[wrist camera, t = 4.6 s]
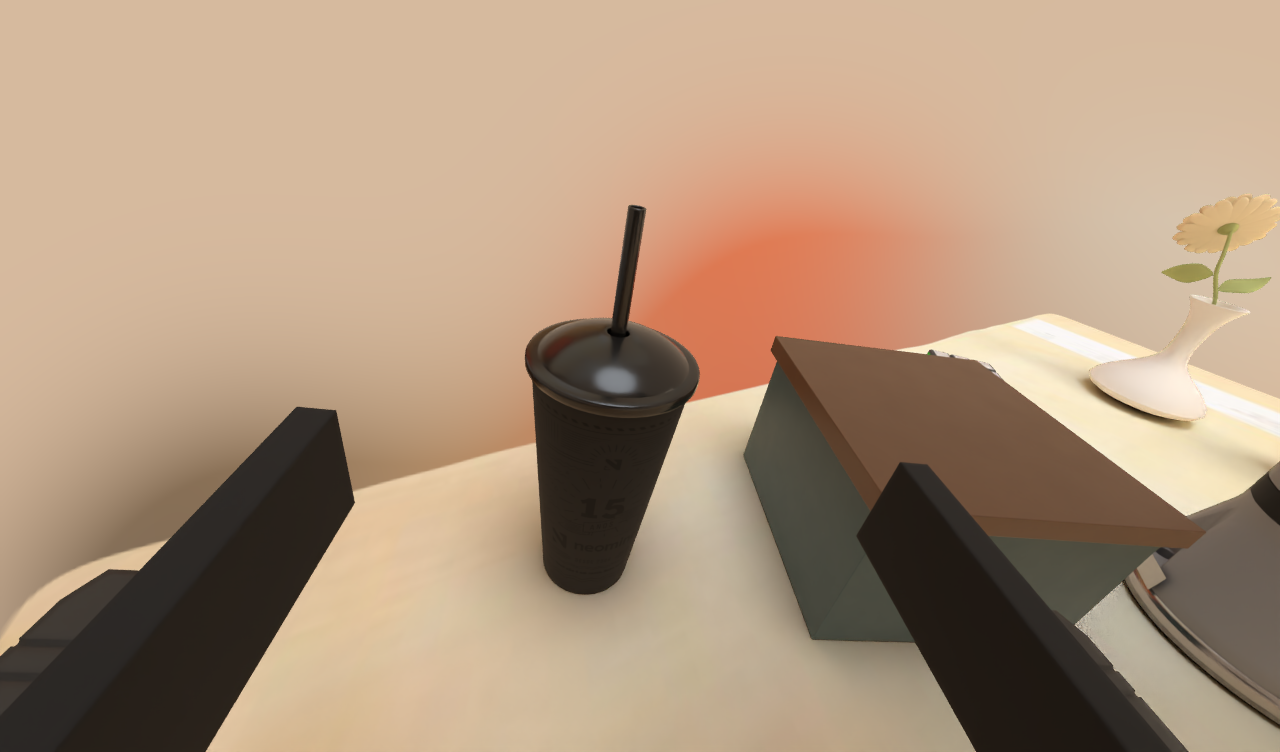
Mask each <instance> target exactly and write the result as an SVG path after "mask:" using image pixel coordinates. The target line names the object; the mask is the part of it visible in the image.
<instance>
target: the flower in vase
mask: <svg viewBox="0 0 1280 752" xmlns="http://www.w3.org/2000/svg"><path fill="white" fill-rule="evenodd" d="M1270 197H1271V196H1270V195H1269V194H1264V195H1261V196H1258V197H1254V198H1253V199H1252V194H1250V193H1246V194H1243V195H1241V196H1239V197H1238V198H1236V197H1228V198H1226V199H1225V200H1221V201H1219V202H1217V203H1216V204H1215V206H1212V205H1206V206H1204V207H1202V208H1201V209H1200V213H1194V214H1191V215H1190V216H1188V217H1186V218H1185V219H1184V220H1183V223H1181V224H1179V225H1178V226H1177V229H1178V230H1180V231H1182V232H1179V233H1177V234H1176V235H1175V236H1173V240H1176V241H1177V244H1179V245H1186V244H1188V245H1187V246H1186V247H1185V248H1184V249H1185V250H1187V251H1189V252H1194V251H1195V253H1203V252H1205V251H1207V250H1208V253H1215V252H1218V251H1222V254H1221V257H1220V259H1219V261H1218V263H1217V265H1216V268H1215V271H1214V278H1213V289H1214V290H1213V291H1214V292H1213V299H1212V298H1208V297H1204V296H1199V295H1190V296H1189V298H1190V311H1189V315H1188V317H1187V319H1186V321H1185V323H1184V325H1183V326H1182V328H1181V329H1180V331H1179V332H1178V334H1177V335H1176V336H1175V337H1174V339H1173V340H1172V341H1171V342H1170V343H1169V344H1168V346H1167V347H1165V348H1164V349H1163V350H1162V351H1160V352H1158V353H1156V354H1154V355H1151V356H1148V357H1142V358H1136V359H1128V360H1120V361H1113V362H1108V363H1104V364H1100V365H1097V366H1095V367H1094V368H1092V369H1090V370H1089V375H1090V379H1091V381H1092V382H1093V383H1094V384H1095V385H1097V386H1098V387H1099V388H1100V389H1101V390H1102V391H1104V392H1105V393H1107V394H1108V395H1110V396H1112V397H1113V398H1115V399H1117V400H1119V401H1121V402H1123V403H1125V404H1127V405H1130V406H1132V407H1134V408H1137V409H1139V410H1142V411H1144V412H1147V413H1150V414H1153V415H1157V416H1160V417H1164V418H1169V419H1175V420H1182V421H1194V420H1198V419H1202V418H1204V417H1205V414H1206V411H1207V408H1206V405H1205V402H1204V399H1203V397H1202V395H1201V393H1200V391H1199V390H1198V388H1197V386H1196V385H1195V383H1194V381H1193V380H1192V378H1191V376H1190V374H1189V371H1188V367H1187V366H1188V361H1189V358H1190V357H1191V355H1192V354H1193V353H1194V351H1195V350H1196V349H1197V348H1198V347H1199V346H1200V344H1202V342H1203V341H1204V340H1205V339H1207V338H1208V337H1209V336H1210V335H1211V334H1212V333H1213V332H1214V331H1216V330H1217V329H1218V328H1220V327H1221V326H1222V325H1224V324H1226V323H1228V322H1229V321H1231V320H1233V319H1235V318H1238V317H1241V316H1244V315H1247V314H1249V313H1250V311H1248V310H1246V309H1244V308H1241V307H1238V306H1235V305H1233V304H1229V303H1226V302H1223V301H1220V300H1217V299H1218V291H1222V292H1232V293H1250V292H1254V291H1256V290H1258V289H1260V288H1262V287H1263V286H1264V285H1265V284H1267V283H1268V281H1269V280H1270V279H1271V277H1268V278H1260V279H1233V280H1227V281H1225V282H1224V283H1223V284H1222V285H1221V286H1220V287H1219V288H1218V273H1219V269H1220V266H1221V264H1222V262H1223V260H1224V257H1225V255H1226V252H1227V251H1233V250H1236V249H1237V248H1238V247H1239V245H1240V246H1244V245H1248V244H1250V243H1251V242H1253V240H1260V239H1262V238H1264V237H1265V236H1266V233H1267V232H1269V231H1270V230H1271V229H1273V228H1275V227H1276V226H1277V224H1276V223H1274V222H1277V221H1279V220H1280V207H1274V208H1271V207H1272V206H1273V205H1275V204H1276V203H1277V199H1270ZM1162 273H1163V274H1165V275H1167V276H1169V277H1171V278H1173V279H1175V280H1177V281H1180V282H1186V283H1189V282H1195V281H1199V280H1202V279H1206V278H1208V277H1210V276H1212V275H1213V272H1212V271H1211V270H1210V269H1209V268H1207V267H1206V266H1204V265H1202V264H1184V265H1179V266H1175V267H1172V268H1169V269H1167V270H1164V271H1162ZM1218 289H1219V290H1218Z"/></svg>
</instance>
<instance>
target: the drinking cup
mask: <svg viewBox="0 0 1280 752" xmlns="http://www.w3.org/2000/svg"><path fill="white" fill-rule="evenodd" d="M645 214H646V208H644V207H642V206H637V205H629V206H628V212H627V219H626V226H625V233H624V240H623V247H622V254H621V262H620V268H619V276H618V282H617V289H616V296H615V303H614V311H613V317H612V318H591V319H577V320H570V321H565V322H561V323H557V324H554V325H551V326H549V327H547V328H545V329H543V330H541V331H540V332H538V333H537V334H536V335H535V336H534V337H533V338H532V339H531V340H530V342H529V344H528V345H527V348H526V352H525V366H526V370H527V372H528V374H529V376H530V378H531V379H532V382H533V399H534V416H535V431H536V448H537V464H538V480H539V496H540V513H541V529H542V545H543V560H544V566H545V569H546V571H547V573H548V575H549V577H550V578H551V579H552V580H553V581H554V582H555V583H556V584H557V585H558V586H560V587H561V588H563V589H565V590H567V591H570V592H573V593H578V594H593V593H597V592H601V591H603V590H605V589H607V588H609V587H610V586H612V585H613V584H614V583H615V582H617V580H618V579H619V578H620V576H621V575H622V573H623V571H624V568H625V566H626V563H627V560H628V557H629V555H630V552H631V549H632V546H633V544H634V541H635V538H636V536H637V533H638V530H639V527H640V525H641V522H642V519H643V517H644V514H645V511H646V508H647V506H648V503H649V500H650V497H651V495H652V492H653V489H654V487H655V484H656V481H657V478H658V476H659V473H660V470H661V468H662V465H663V462H664V459H665V457H666V454H667V451H668V448H669V446H670V443H671V440H672V438H673V435H674V432H675V429H676V427H677V424H678V421H679V419H680V416H681V413H682V410H683V408H684V405H685V403H686V402H687V401H688V400H689V399H690V398H691V397H692V396H693V394H694V393H695V391H696V389H697V386H698V382H699V377H700V372H699V367H698V364H697V362H696V360H695V358H694V357H693V355H692V354H691V353H690V352H689V351H688V350H687V349H686V348H685V347H684V346H682V345H681V344H680V343H679V342H677V341H676V340H674V339H672V338H670V337H669V336H667V335H665V334H663V333H661V332H658V331H656V330H653V329H650V328H648V327H646V326H643V325H641V324H638V323H635V322H631V321H628V319H629V313H630V307H631V300H632V294H633V288H634V282H635V276H636V270H637V262H638V257H639V251H640V245H641V239H642V232H643V226H644V219H645Z"/></svg>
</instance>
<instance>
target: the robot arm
mask: <svg viewBox="0 0 1280 752" xmlns="http://www.w3.org/2000/svg"><path fill="white" fill-rule="evenodd" d="M354 503H355V501H354V496H353V491H352V486H351V482H350V477H349V472H348V467H347V462H346V457H345V452H344V447H343V442H342V437H341V432H340V427H339V423H338V417H337V413H336V410H326V409H314V408H304V407H296V408H295V409H294V410H293V411H292V412H291V413H290V414H289V416H287V418H285V420H284V421H283V422H282V423H281V424H280V425H279V426H278V427H277V428H276V429H275V430H274V431H273V432H272V433H271V434H270V435H269V436H268V437H267V438H266V439H265V440H264V441H263V443H261V445H260V446H259V447H258V448H257V449H256V450H255V451H254V452H253V453H252V454H251V455H250V456H249V457H248V458H247V459H246V460H245V461H244V462H243V463H242V464H241V465H240V466H239V468H237V470H236V471H235V472H234V473H233V474H232V475H231V476H230V477H229V478H228V479H227V480H226V481H225V482H224V483H223V484H222V485H221V486H220V487H219V488H218V489H217V490H216V492H214V493H213V495H212V496H211V497H210V498H209V499H208V500H207V501H206V502H205V503H204V504H203V505H202V506H201V507H200V508H199V509H198V510H197V511H196V512H195V513H194V514H193V515H192V516H191V517H190V518H189V519H188V521H187V522H186V523H185V524H184V525H183V526H182V527H181V528H180V529H179V530H178V531H177V532H176V533H175V534H174V535H173V536H172V537H171V538H170V539H169V540H168V541H167V542H166V543H165V544H164V545H163V547H162V548H161V549H160V550H159V551H158V552H157V553H156V554H155V555H154V556H153V557H152V558H151V559H150V560H149V561H148V562H147V563H146V564H145V565H144V566H143V567H142V568H141V569H140V570H139V571H134V570H112V569H109V570H107V571H105V572H104V573H102V574H101V575H99V576H97V577H96V578H94V579H93V580H91V581H90V582H88V583H86V584H85V585H83V586H82V587H80V588H78V589H77V590H75V591H74V592H72V593H70V594H69V595H67V596H66V597H64V598H63V599H61V600H60V601H58V602H57V603H56V604H55V605H54V606H53V607H52V608H51V609H50V610H49V611H48V612H47V613H46V614H45V615H44V616H43V617H42V618H40V619H39V620H38V621H37V622H36V623H35V624H34V625H33V626H32V627H31V628H30V629H29V630H28V631H27V632H26V633H25V634H24V635H22V636H21V637H20V638H19V643H18V644H17V645H16V646H14V647H10V648H9V649H8V650H7V651H5V652H4V653H3V654H2V655H1V656H0V752H206V750H207V748H208V747H209V745H210V743H211V742H212V740H213V738H214V737H215V735H216V733H217V732H218V730H219V728H220V727H221V725H222V723H223V722H224V720H225V718H226V717H227V715H228V713H229V712H230V710H231V708H232V707H233V705H234V703H235V702H236V700H237V698H238V697H239V695H240V693H241V692H242V690H243V688H244V687H245V685H246V683H247V682H248V680H249V678H250V677H251V675H252V673H253V672H254V670H255V668H256V667H257V665H258V663H259V662H260V660H261V658H262V657H263V655H264V653H265V652H266V650H267V648H268V647H269V645H270V643H271V642H272V640H273V638H274V637H275V635H276V633H277V632H278V630H279V628H280V627H281V625H282V623H283V622H284V620H285V618H286V617H287V615H288V613H289V612H290V610H291V608H292V607H293V605H294V603H295V602H296V600H297V598H298V597H299V595H300V593H301V592H302V590H303V588H304V587H305V585H306V583H307V582H308V580H309V578H310V577H311V575H312V573H313V572H314V570H315V568H316V567H317V565H318V563H319V562H320V560H321V558H322V557H323V555H324V553H325V552H326V550H327V548H328V547H329V545H330V543H331V542H332V540H333V538H334V537H335V535H336V533H337V532H338V530H339V528H340V527H341V525H342V523H343V522H344V520H345V518H346V517H347V515H348V513H349V512H350V510H351V508H352V507H353V505H354ZM1186 517H1187V518H1188V519H1190V520H1191V521H1192V522H1194V523H1195V524H1197V525H1198V526H1199V527H1201V528H1202V529H1203V530H1205V531H1206V533H1205V534H1204V535H1203V536H1202V537H1201V538H1199V539H1198V540H1197V541H1196V542H1195V543H1194V544H1193V545H1191V546H1190V547H1189V548H1188V549H1185V548H1170V547H1160V548H1158V549H1157V550H1156V551H1155V552H1154V553H1153V554H1152V555H1151V556H1150V557H1148V558H1147V559H1146V560H1145V561H1144V562H1143V563H1142V564H1141V565H1140V566H1139V567H1137V568H1136V569H1135V570H1134V571H1133V572H1132V573H1131V574H1130V575H1129V576H1127V577H1126V578H1125V579H1124V580H1125V582H1126V584H1127V586H1128V588H1129V589H1130V591H1131V593H1132V594H1133V596H1134V597H1135V599H1136V600H1137V601H1138V603H1139V604H1140V606H1141V607H1142V608H1143V609H1144V611H1145V612H1146V613H1147V614H1148V616H1149V617H1150V618H1151V619H1152V620H1153V621H1154V623H1155V624H1156V625H1157V626H1158V627H1159V628H1160V629H1161V630H1162V631H1163V632H1164V633H1165V634H1166V635H1167V636H1168V637H1169V638H1170V639H1171V640H1172V641H1173V642H1174V643H1175V644H1176V645H1177V646H1178V647H1179V648H1180V649H1181V650H1182V651H1183V652H1184V653H1186V654H1187V655H1188V656H1189V657H1190V658H1191V659H1192V660H1193V661H1195V662H1196V663H1197V664H1198V665H1199V666H1200V667H1202V668H1203V669H1204V670H1205V671H1206V672H1208V673H1209V674H1210V675H1211V676H1212V677H1214V678H1215V679H1216V680H1217V681H1219V682H1220V683H1221V684H1223V685H1224V686H1225V687H1226V688H1228V689H1229V690H1230V691H1232V692H1233V693H1234V694H1236V695H1237V696H1239V697H1240V698H1241V699H1243V700H1244V701H1245V702H1247V703H1248V704H1250V705H1251V706H1253V707H1254V708H1255V709H1257V710H1258V711H1260V712H1261V713H1263V714H1264V715H1266V716H1267V717H1269V718H1270V719H1272V720H1273V721H1275V722H1276V723H1278V724H1279V725H1280V462H1279V463H1277V464H1276V465H1275V466H1274V467H1273V468H1272V469H1270V471H1268V472H1267V473H1266V474H1265V475H1264V476H1263V477H1262V478H1260V479H1259V480H1258V481H1257V482H1256V483H1255V484H1254V485H1252V486H1251V487H1250V488H1249V489H1247V490H1246V491H1245V492H1244V493H1242V494H1240V495H1239V496H1237V497H1234V498H1232V499H1229V500H1227V501H1224V502H1222V503H1219V504H1217V505H1214V506H1211V507H1209V508H1206V509H1204V510H1201V511H1199V512H1196V513H1194V514H1191V515H1188V516H1186ZM856 537H857V539H858V540H859V542H860V544H861V546H862V548H863V549H864V551H865V553H866V555H867V557H868V558H869V560H870V562H871V564H872V566H873V567H874V569H875V571H876V573H877V575H878V576H879V578H880V580H881V582H882V584H883V585H884V587H885V589H886V591H887V593H888V594H889V596H890V598H891V600H892V602H893V603H894V605H895V607H896V609H897V610H898V612H899V614H900V616H901V618H902V619H903V621H904V623H905V625H906V627H907V628H908V630H909V632H910V634H911V636H912V637H913V639H914V641H915V643H916V645H917V646H918V648H919V650H920V652H921V654H922V655H923V657H924V659H925V661H926V663H927V664H928V666H929V668H930V670H931V672H932V673H933V675H934V677H935V679H936V681H937V682H938V684H939V686H940V688H941V689H942V691H943V693H944V695H945V697H946V698H947V700H948V702H949V704H950V706H951V707H952V709H953V711H954V713H955V715H956V716H957V718H958V720H959V722H960V724H961V725H962V727H963V729H964V731H965V733H966V734H967V736H968V738H969V740H970V742H971V743H972V745H973V747H974V749H975V751H976V752H1188V751H1187V749H1186V748H1185V747H1184V746H1183V745H1182V744H1181V743H1180V741H1179V740H1178V739H1177V738H1176V737H1175V736H1174V735H1173V733H1172V732H1171V731H1170V730H1169V729H1168V728H1167V727H1166V725H1165V724H1164V723H1163V722H1162V721H1161V720H1160V719H1159V717H1158V716H1157V715H1156V714H1155V713H1154V712H1153V711H1152V709H1151V708H1150V707H1149V706H1148V705H1147V704H1146V703H1145V701H1144V700H1143V699H1142V698H1141V697H1137V696H1136V695H1135V690H1134V689H1133V688H1132V687H1131V685H1130V684H1129V683H1128V682H1127V681H1126V680H1125V679H1124V677H1123V676H1122V675H1121V674H1120V673H1119V672H1115V671H1114V669H1113V665H1112V664H1111V663H1110V661H1109V660H1108V659H1107V658H1106V657H1105V656H1104V655H1103V653H1102V652H1101V651H1100V650H1099V649H1098V648H1097V647H1096V645H1095V644H1094V643H1093V642H1092V641H1091V640H1090V639H1089V637H1088V636H1087V635H1085V634H1084V633H1083V632H1082V631H1081V630H1079V629H1078V628H1077V627H1076V626H1075V625H1073V624H1072V623H1071V622H1070V621H1069V620H1067V619H1066V618H1065V617H1064V616H1063V615H1061V614H1060V613H1059V612H1058V611H1056V610H1051V609H1050V608H1049V607H1048V605H1047V604H1046V603H1045V602H1044V601H1043V600H1042V598H1041V597H1040V596H1039V595H1038V594H1037V593H1036V591H1035V590H1034V589H1033V588H1032V587H1031V585H1030V584H1029V583H1028V582H1027V581H1026V580H1025V578H1024V577H1023V576H1022V575H1021V574H1020V573H1019V571H1018V570H1017V569H1016V568H1015V567H1014V566H1013V564H1012V563H1011V562H1010V561H1009V560H1008V558H1007V557H1006V556H1005V555H1004V554H1003V553H1002V551H1001V550H1000V549H999V548H998V547H997V546H996V544H995V543H994V542H993V541H992V540H991V538H990V537H989V536H988V535H987V534H986V533H985V531H984V530H983V529H982V528H981V527H980V526H979V524H978V523H977V522H976V521H975V520H974V518H973V517H972V516H971V515H970V514H969V513H968V511H967V510H966V509H965V508H964V507H963V506H962V504H961V503H960V502H959V501H958V500H957V499H956V497H955V496H954V495H953V494H952V493H951V491H950V490H949V489H948V488H947V487H946V486H945V484H944V483H943V482H942V481H941V480H940V479H939V477H938V476H937V475H936V474H935V473H934V471H933V470H932V469H931V468H930V467H929V466H928V464H917V463H906V462H900V463H899V464H898V466H897V468H896V470H895V471H894V473H893V475H892V476H891V478H890V480H889V481H888V483H887V485H886V486H885V488H884V490H883V491H882V493H881V495H880V496H879V498H878V500H877V501H876V503H875V505H874V506H873V508H872V510H871V512H870V513H869V515H868V517H867V518H866V520H865V522H864V523H863V525H862V527H861V528H860V530H859V532H858V533H857V535H856Z"/></svg>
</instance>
